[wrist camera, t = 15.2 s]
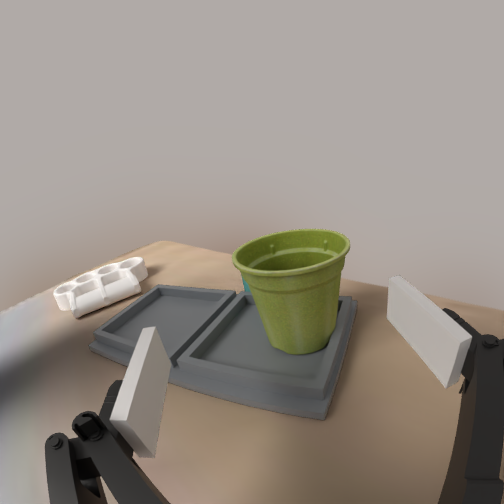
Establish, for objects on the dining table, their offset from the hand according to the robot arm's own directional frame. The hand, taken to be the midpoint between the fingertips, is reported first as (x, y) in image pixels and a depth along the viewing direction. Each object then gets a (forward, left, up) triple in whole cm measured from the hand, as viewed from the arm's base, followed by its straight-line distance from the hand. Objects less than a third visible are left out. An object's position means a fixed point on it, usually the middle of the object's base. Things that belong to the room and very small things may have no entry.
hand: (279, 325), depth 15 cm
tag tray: (-11, +8, -8) cm, 16 cm away
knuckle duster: (-38, +13, -9) cm, 41 cm away
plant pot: (-2, +9, -8) cm, 12 cm away
